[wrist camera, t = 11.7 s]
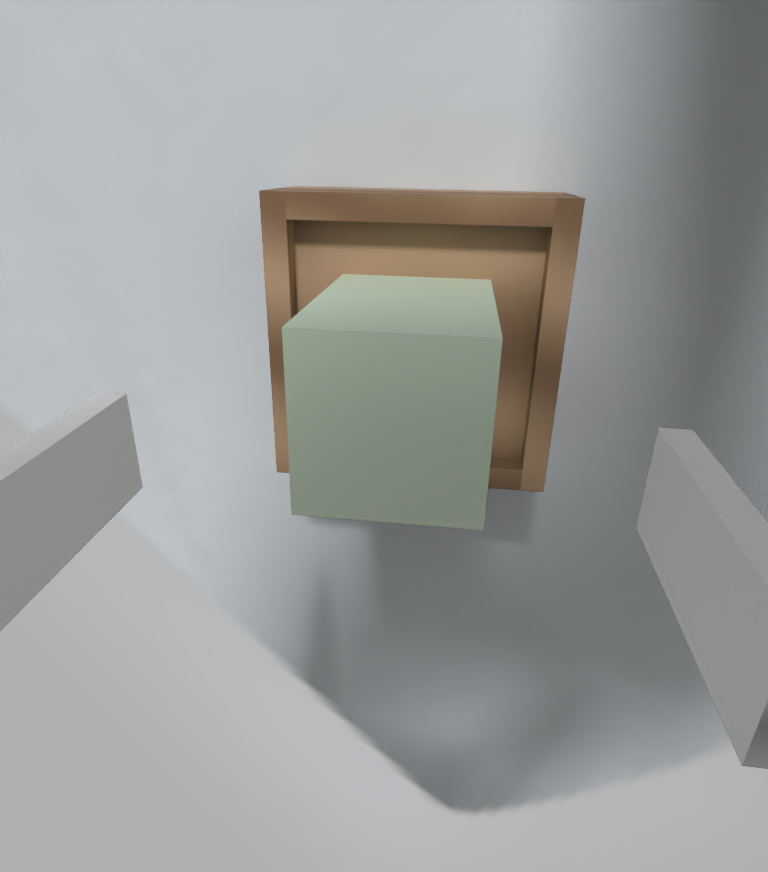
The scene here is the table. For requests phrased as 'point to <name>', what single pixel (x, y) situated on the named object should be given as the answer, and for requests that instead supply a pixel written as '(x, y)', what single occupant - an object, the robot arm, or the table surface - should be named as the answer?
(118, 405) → the robot arm
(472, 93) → the table surface
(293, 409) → the green block
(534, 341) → the brown crate
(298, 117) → the table surface
